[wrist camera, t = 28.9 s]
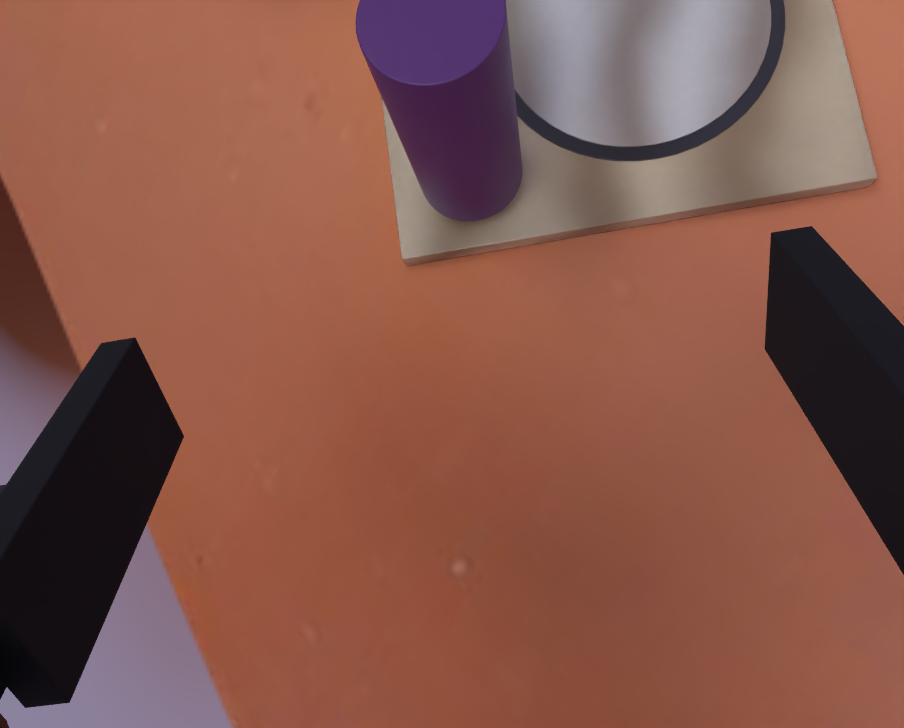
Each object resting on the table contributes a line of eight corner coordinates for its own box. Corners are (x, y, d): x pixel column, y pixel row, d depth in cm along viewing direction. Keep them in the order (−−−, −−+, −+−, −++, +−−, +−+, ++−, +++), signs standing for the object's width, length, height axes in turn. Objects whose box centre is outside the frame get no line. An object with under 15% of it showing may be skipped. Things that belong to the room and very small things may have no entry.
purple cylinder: (430, 238, 34) (363, 98, 22) (417, 145, 35) (347, -37, 23) (530, 220, 33) (516, 69, 22) (515, 127, 34) (494, -68, 23)
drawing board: (406, 266, 35) (400, 258, 34) (361, -81, 38) (355, -99, 37) (869, 187, 33) (880, 175, 32) (778, -172, 36) (785, -195, 35)
